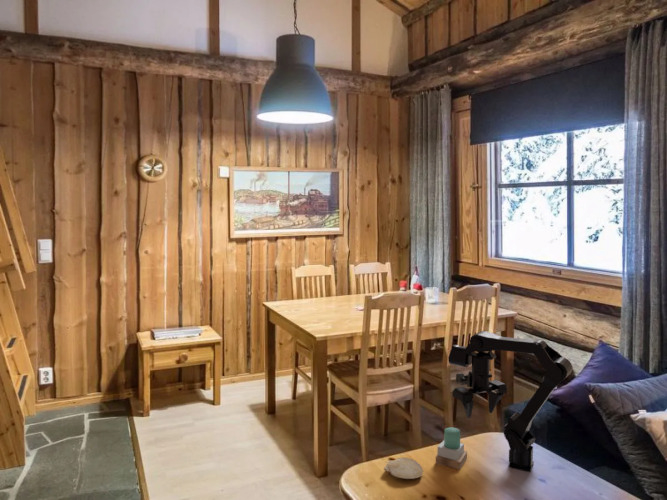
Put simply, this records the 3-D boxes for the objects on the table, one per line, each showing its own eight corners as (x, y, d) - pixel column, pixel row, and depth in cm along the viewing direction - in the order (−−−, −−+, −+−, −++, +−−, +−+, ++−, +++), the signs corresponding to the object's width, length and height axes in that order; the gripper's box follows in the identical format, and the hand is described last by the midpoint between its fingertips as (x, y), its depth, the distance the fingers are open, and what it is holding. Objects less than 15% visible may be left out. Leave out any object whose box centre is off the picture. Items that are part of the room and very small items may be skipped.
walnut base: (466, 460, 176) (467, 451, 175) (460, 471, 169) (460, 462, 168) (443, 454, 180) (443, 446, 179) (435, 465, 173) (435, 456, 172)
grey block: (463, 452, 175) (464, 443, 174) (456, 460, 169) (457, 451, 169) (444, 447, 178) (445, 438, 178) (437, 455, 173) (437, 446, 173)
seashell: (430, 479, 163) (430, 470, 163) (397, 488, 159) (397, 478, 158) (410, 462, 174) (411, 454, 174) (378, 469, 169) (378, 461, 169)
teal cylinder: (461, 444, 174) (462, 429, 173) (457, 450, 170) (457, 435, 169) (447, 440, 176) (447, 426, 176) (442, 447, 172) (442, 432, 172)
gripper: (485, 359, 188) (485, 401, 189) (442, 367, 180) (442, 411, 181) (508, 368, 178) (507, 413, 179) (463, 377, 170) (463, 424, 171)
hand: (479, 415), depth 178 cm, fingers open, 9 cm apart
